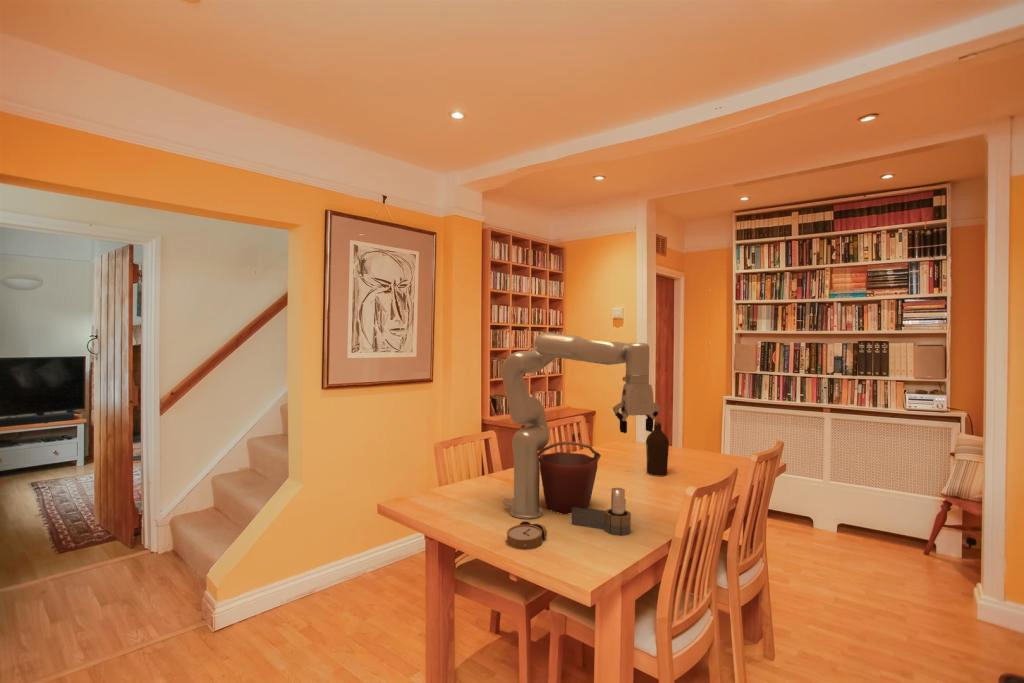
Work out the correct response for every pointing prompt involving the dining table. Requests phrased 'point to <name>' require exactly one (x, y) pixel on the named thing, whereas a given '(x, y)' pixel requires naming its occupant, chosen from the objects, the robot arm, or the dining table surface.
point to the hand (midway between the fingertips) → (636, 431)
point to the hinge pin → (617, 502)
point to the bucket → (567, 478)
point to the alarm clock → (526, 535)
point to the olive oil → (657, 451)
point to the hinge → (602, 520)
